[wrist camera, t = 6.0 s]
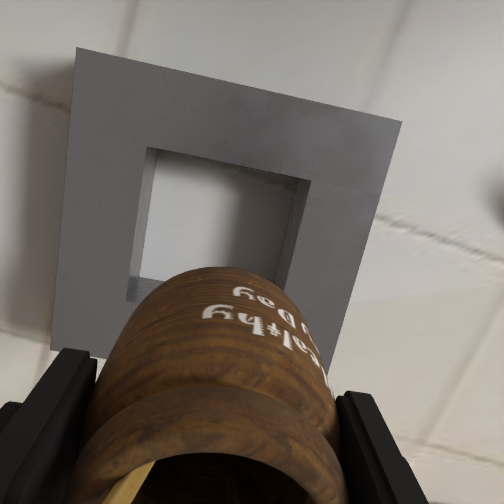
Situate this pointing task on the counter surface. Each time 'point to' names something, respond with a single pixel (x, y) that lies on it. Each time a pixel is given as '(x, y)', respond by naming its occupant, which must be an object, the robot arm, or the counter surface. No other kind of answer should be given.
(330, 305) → the hollow square block
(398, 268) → the counter surface
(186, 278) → the utensil holder
